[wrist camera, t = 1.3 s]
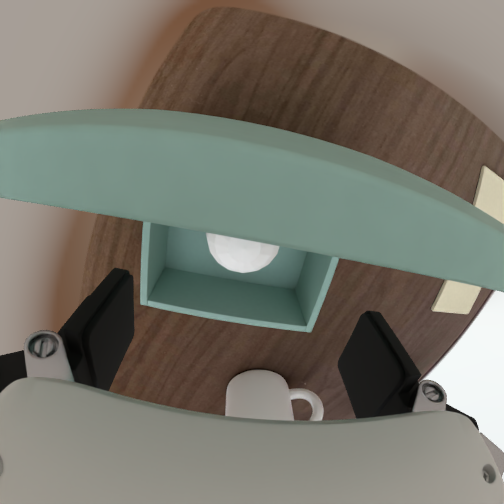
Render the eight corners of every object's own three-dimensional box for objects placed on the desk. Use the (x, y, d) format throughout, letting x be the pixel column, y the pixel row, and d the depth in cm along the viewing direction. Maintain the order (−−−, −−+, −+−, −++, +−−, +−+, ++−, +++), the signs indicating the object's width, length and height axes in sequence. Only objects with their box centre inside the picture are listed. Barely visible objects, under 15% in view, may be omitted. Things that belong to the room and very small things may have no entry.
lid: (560, 306, 3) (573, 279, 3) (-80, 188, 2) (-82, 146, 1) (369, 168, 16) (372, 157, 16) (154, 121, 15) (156, 109, 14)
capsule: (258, 251, 25) (264, 298, 18) (204, 229, 24) (188, 268, 17) (284, 200, 24) (303, 228, 16) (228, 174, 23) (220, 191, 15)
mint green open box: (297, 292, 28) (311, 332, 22) (160, 268, 26) (140, 304, 20) (337, 155, 23) (368, 161, 17) (180, 122, 21) (157, 116, 15)
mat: (481, 165, 23) (485, 166, 22) (512, 188, 24) (515, 189, 23) (430, 308, 30) (432, 311, 30) (465, 312, 31) (467, 314, 30)
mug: (313, 355, 32) (331, 422, 22) (316, 393, 35) (330, 451, 25) (219, 372, 32) (214, 440, 23) (235, 406, 36) (234, 466, 26)
